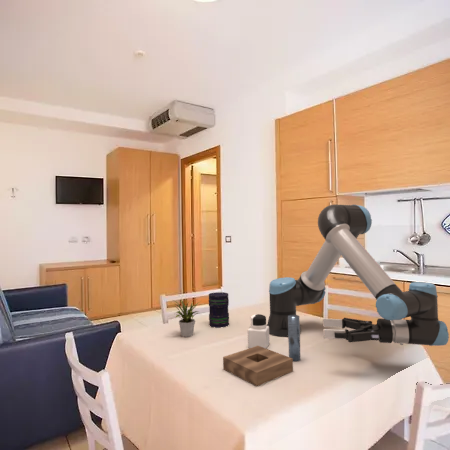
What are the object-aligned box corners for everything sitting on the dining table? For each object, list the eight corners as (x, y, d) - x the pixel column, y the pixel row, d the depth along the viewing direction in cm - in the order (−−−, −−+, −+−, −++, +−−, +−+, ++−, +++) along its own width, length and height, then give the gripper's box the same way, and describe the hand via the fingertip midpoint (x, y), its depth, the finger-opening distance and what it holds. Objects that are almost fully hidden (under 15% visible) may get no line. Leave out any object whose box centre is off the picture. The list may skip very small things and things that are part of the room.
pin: (286, 359, 116) (285, 316, 116) (294, 356, 118) (292, 314, 118) (295, 362, 113) (294, 318, 113) (302, 359, 115) (301, 316, 115)
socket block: (223, 369, 108) (223, 356, 109) (258, 356, 118) (258, 345, 118) (256, 386, 96) (256, 372, 96) (293, 371, 106) (292, 358, 106)
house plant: (161, 338, 142) (160, 300, 142) (178, 329, 155) (177, 294, 155) (191, 341, 136) (190, 302, 137) (205, 331, 149) (204, 295, 150)
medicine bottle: (269, 343, 132) (268, 313, 132) (266, 349, 125) (265, 318, 125) (252, 342, 134) (251, 312, 134) (247, 348, 127) (247, 317, 128)
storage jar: (217, 321, 167) (216, 291, 167) (233, 323, 161) (232, 293, 161) (204, 325, 159) (204, 294, 159) (221, 329, 153) (220, 296, 153)
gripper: (401, 356, 95) (324, 351, 101) (384, 331, 119) (323, 328, 125) (399, 330, 95) (323, 326, 101) (383, 310, 119) (322, 308, 125)
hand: (323, 327), depth 113 cm, fingers open, 13 cm apart
